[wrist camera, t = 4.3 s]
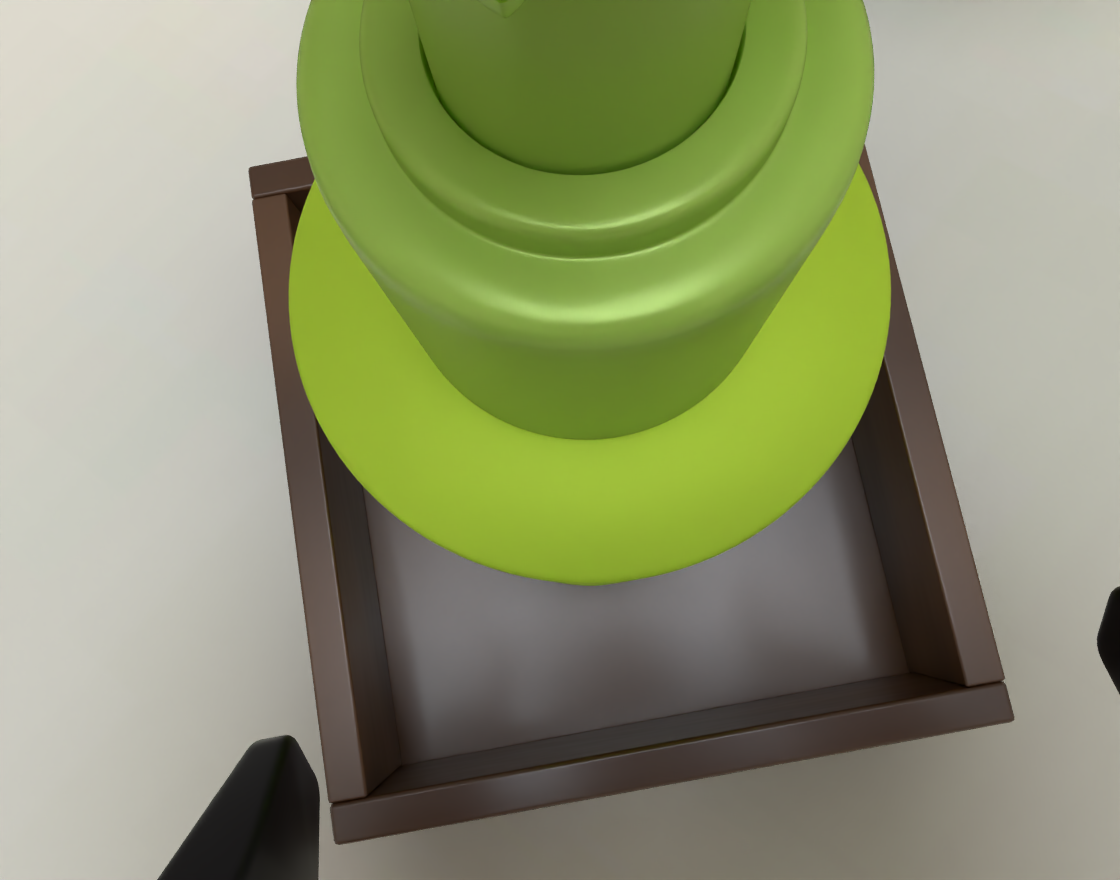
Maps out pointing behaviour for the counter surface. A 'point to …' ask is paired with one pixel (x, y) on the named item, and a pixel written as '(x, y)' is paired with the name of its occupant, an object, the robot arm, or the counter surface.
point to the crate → (627, 620)
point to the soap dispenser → (588, 268)
